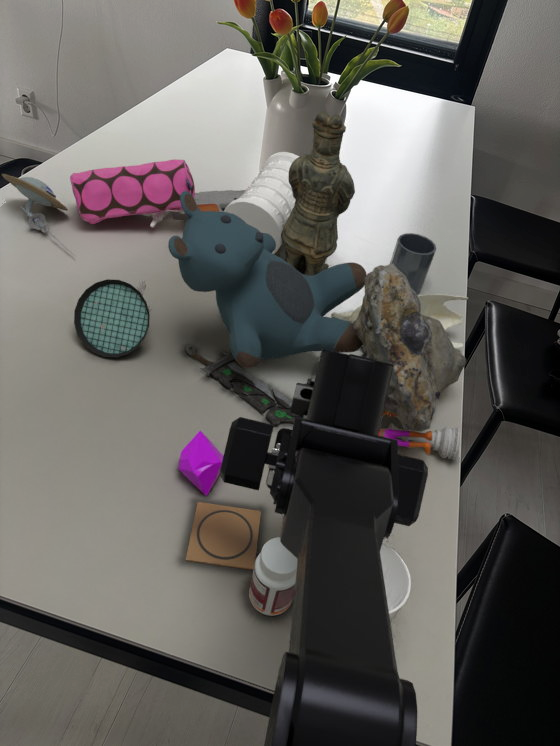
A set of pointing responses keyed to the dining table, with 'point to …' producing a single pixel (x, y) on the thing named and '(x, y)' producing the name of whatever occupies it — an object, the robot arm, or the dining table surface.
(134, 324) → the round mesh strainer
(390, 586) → the white cup
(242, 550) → the square wooden coaster
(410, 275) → the pencil cup
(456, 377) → the rock
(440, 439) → the chess piece
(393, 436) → the toy figure
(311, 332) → the stuffed animal
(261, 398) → the sword
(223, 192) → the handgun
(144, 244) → the dining table surface
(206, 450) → the crystal
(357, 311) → the clam shell
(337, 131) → the statue
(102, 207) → the pencil case
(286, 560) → the pill bottle
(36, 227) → the toy
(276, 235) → the decorative container
